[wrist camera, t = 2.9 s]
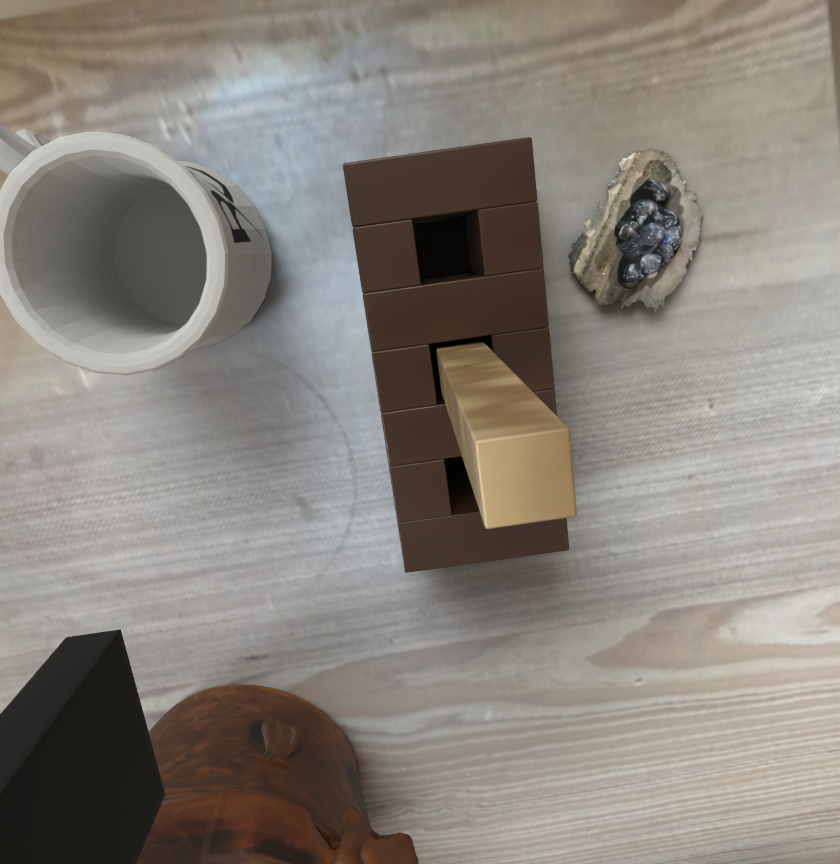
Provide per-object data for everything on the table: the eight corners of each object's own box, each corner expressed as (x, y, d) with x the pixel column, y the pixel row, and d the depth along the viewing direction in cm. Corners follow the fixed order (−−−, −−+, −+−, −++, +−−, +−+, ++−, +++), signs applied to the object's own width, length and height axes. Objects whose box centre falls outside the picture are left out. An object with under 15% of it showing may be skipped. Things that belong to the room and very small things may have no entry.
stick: (471, 329, 37) (570, 428, 16) (476, 370, 38) (578, 517, 17) (430, 335, 38) (474, 440, 16) (436, 375, 38) (484, 530, 17)
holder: (351, 178, 35) (342, 163, 30) (509, 155, 35) (532, 136, 30) (404, 527, 40) (405, 573, 34) (544, 507, 40) (569, 550, 34)
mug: (312, 252, 36) (280, 251, 27) (200, 382, 38) (131, 425, 28) (115, 71, 34) (1, -3, 24) (3, 217, 35) (-146, 202, 26)
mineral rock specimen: (558, 302, 37) (567, 304, 35) (581, 140, 35) (591, 133, 34) (684, 314, 38) (698, 317, 36) (713, 154, 36) (730, 149, 34)
